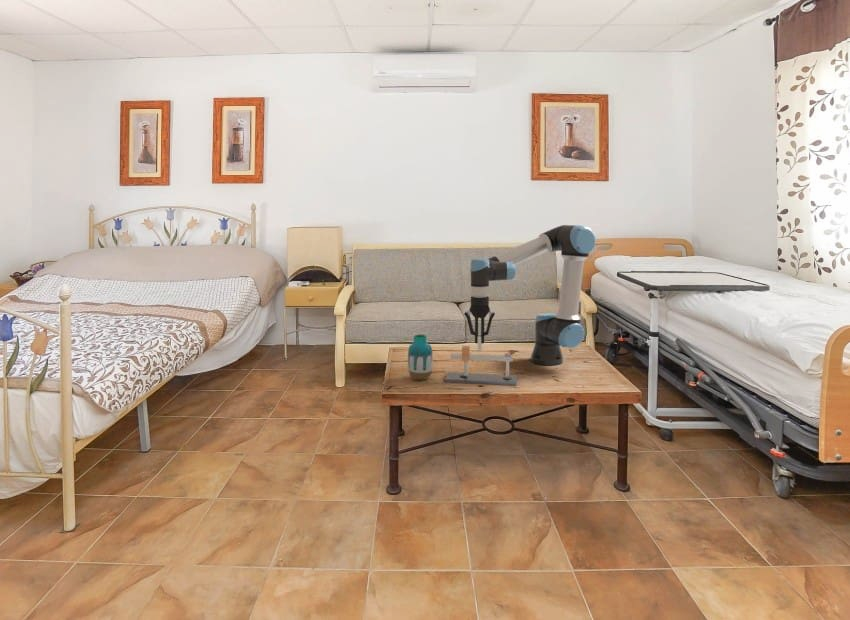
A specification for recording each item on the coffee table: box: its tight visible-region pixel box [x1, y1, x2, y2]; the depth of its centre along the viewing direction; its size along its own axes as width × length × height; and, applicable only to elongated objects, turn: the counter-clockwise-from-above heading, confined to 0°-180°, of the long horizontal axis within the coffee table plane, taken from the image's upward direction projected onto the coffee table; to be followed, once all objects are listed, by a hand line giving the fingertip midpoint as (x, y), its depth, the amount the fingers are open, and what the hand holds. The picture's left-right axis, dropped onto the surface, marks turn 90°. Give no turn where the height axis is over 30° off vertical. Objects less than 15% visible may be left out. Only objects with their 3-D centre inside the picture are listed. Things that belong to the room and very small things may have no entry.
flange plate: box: [444, 371, 518, 386], centre depth 225 cm, size 30×10×1 cm, turn 80°
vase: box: [407, 333, 434, 381], centre depth 226 cm, size 11×11×19 cm
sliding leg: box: [461, 345, 471, 376], centre depth 225 cm, size 3×4×12 cm
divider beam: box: [450, 352, 514, 379], centre depth 224 cm, size 26×3×11 cm, turn 80°
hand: (479, 350), depth 224 cm, fingers closed
